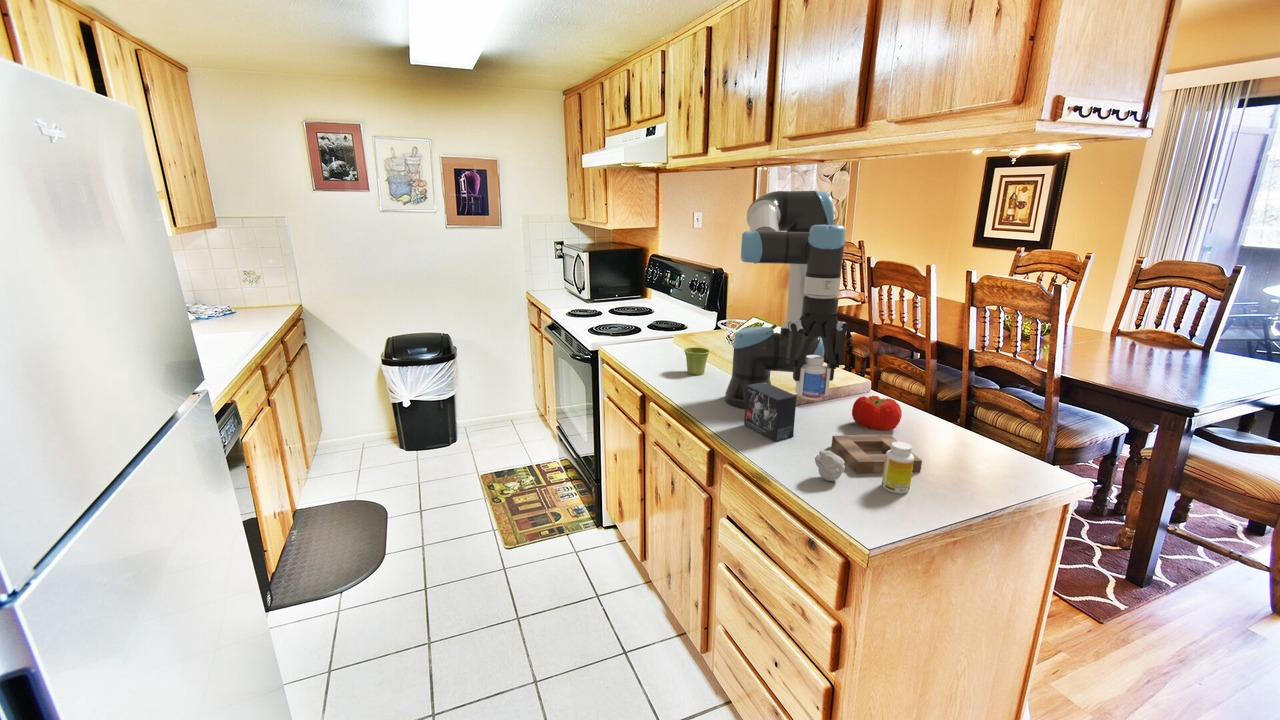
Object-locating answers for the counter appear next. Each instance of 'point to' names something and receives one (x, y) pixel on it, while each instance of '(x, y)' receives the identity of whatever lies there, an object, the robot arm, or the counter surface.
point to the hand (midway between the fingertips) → (811, 393)
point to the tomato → (876, 413)
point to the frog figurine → (829, 465)
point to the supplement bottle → (898, 468)
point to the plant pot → (696, 360)
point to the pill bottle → (814, 378)
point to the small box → (770, 411)
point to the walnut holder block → (857, 445)
